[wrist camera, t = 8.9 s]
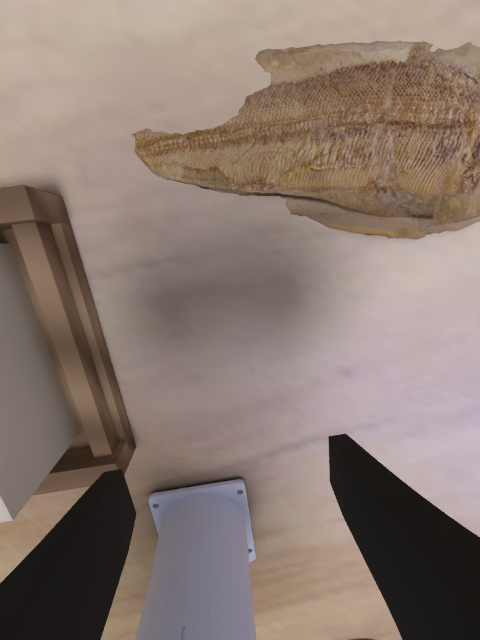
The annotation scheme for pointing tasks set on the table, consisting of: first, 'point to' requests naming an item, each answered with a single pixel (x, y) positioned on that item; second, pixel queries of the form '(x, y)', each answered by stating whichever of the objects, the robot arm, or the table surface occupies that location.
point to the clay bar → (26, 396)
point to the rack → (68, 335)
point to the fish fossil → (347, 138)
